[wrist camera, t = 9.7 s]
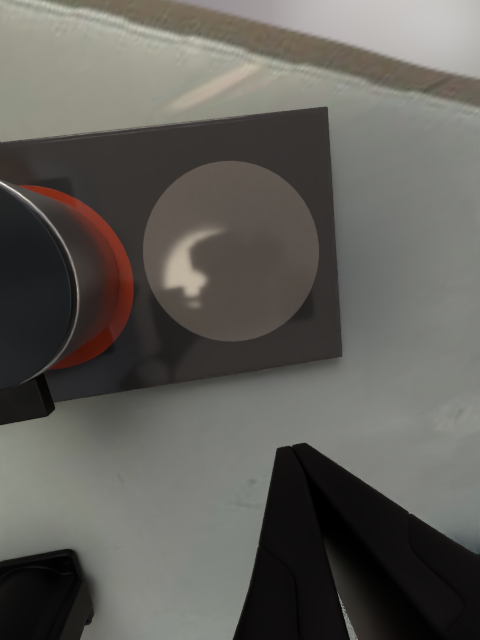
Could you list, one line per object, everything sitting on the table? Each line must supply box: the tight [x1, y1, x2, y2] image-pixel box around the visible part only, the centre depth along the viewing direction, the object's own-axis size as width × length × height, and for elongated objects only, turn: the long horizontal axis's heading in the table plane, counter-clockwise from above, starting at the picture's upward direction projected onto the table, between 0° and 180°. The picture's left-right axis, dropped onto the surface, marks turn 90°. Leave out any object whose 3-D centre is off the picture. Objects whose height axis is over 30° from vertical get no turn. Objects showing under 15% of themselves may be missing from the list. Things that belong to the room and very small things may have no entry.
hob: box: [0, 107, 342, 402], centre depth 17 cm, size 23×14×1 cm, turn 98°
